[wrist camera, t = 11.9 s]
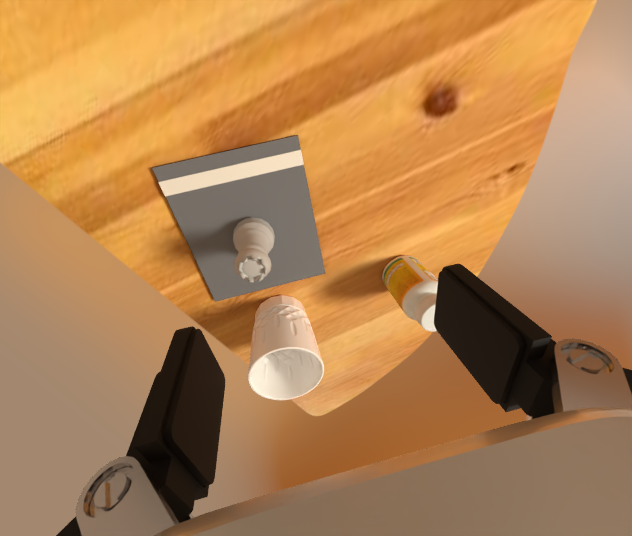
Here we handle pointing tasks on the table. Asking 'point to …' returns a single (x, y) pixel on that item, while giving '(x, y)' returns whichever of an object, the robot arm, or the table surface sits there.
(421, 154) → the table surface
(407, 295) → the supplement bottle
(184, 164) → the mat
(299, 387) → the white cup
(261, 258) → the rook chess piece
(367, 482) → the robot arm
